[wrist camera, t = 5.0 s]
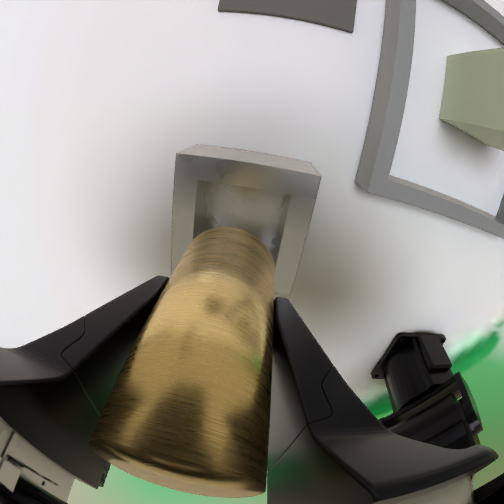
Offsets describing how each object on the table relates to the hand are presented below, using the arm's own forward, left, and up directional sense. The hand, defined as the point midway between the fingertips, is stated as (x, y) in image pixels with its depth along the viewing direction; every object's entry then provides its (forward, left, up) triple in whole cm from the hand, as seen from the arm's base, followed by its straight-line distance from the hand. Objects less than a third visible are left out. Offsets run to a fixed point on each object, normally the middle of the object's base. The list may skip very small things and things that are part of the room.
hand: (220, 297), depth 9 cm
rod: (0, 0, -2) cm, 2 cm away
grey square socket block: (0, 0, -9) cm, 9 cm away
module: (+12, -14, -9) cm, 20 cm away
